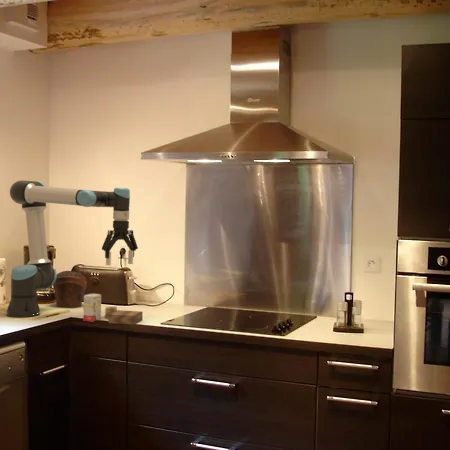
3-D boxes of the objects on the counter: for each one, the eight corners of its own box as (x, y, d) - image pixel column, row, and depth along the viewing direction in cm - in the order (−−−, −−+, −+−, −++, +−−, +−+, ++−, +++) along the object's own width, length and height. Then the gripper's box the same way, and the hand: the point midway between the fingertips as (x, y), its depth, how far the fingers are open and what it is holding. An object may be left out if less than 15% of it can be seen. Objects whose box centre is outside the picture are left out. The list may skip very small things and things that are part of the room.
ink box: (92, 322, 286) (92, 296, 285) (82, 321, 287) (83, 295, 287) (101, 319, 294) (101, 293, 293) (92, 318, 295) (92, 293, 295)
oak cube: (105, 318, 295) (105, 308, 295) (106, 317, 300) (106, 306, 300) (115, 318, 295) (116, 308, 295) (116, 317, 300) (117, 306, 300)
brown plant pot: (69, 309, 317) (70, 274, 316) (43, 306, 327) (43, 271, 327) (95, 306, 331) (96, 272, 331) (68, 302, 342) (69, 270, 342)
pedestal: (108, 323, 284) (108, 314, 284) (117, 318, 295) (118, 310, 295) (134, 324, 281) (134, 315, 281) (142, 320, 293) (142, 311, 293)
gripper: (105, 220, 287) (103, 266, 287) (145, 220, 306) (144, 264, 306) (94, 219, 292) (93, 265, 292) (135, 220, 311) (134, 262, 311)
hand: (119, 264), depth 299 cm, fingers open, 13 cm apart
